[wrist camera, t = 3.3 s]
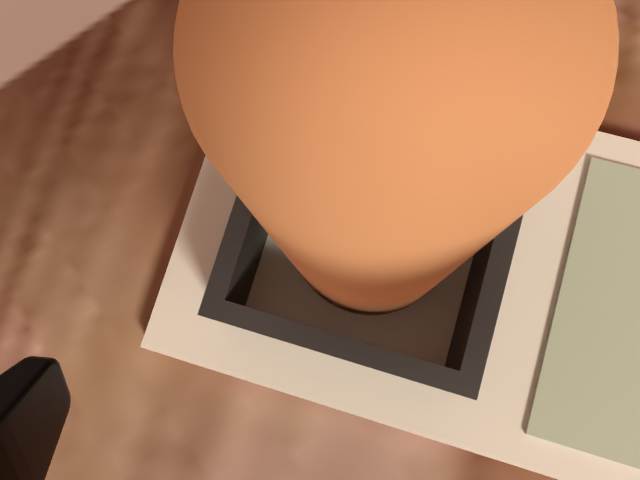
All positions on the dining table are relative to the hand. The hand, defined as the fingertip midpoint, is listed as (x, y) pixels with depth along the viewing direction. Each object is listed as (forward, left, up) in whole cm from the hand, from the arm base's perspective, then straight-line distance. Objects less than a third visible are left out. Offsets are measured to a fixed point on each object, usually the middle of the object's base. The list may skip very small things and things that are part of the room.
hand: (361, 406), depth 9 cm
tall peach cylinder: (+4, +2, -10) cm, 11 cm away
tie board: (+5, -3, -11) cm, 13 cm away
